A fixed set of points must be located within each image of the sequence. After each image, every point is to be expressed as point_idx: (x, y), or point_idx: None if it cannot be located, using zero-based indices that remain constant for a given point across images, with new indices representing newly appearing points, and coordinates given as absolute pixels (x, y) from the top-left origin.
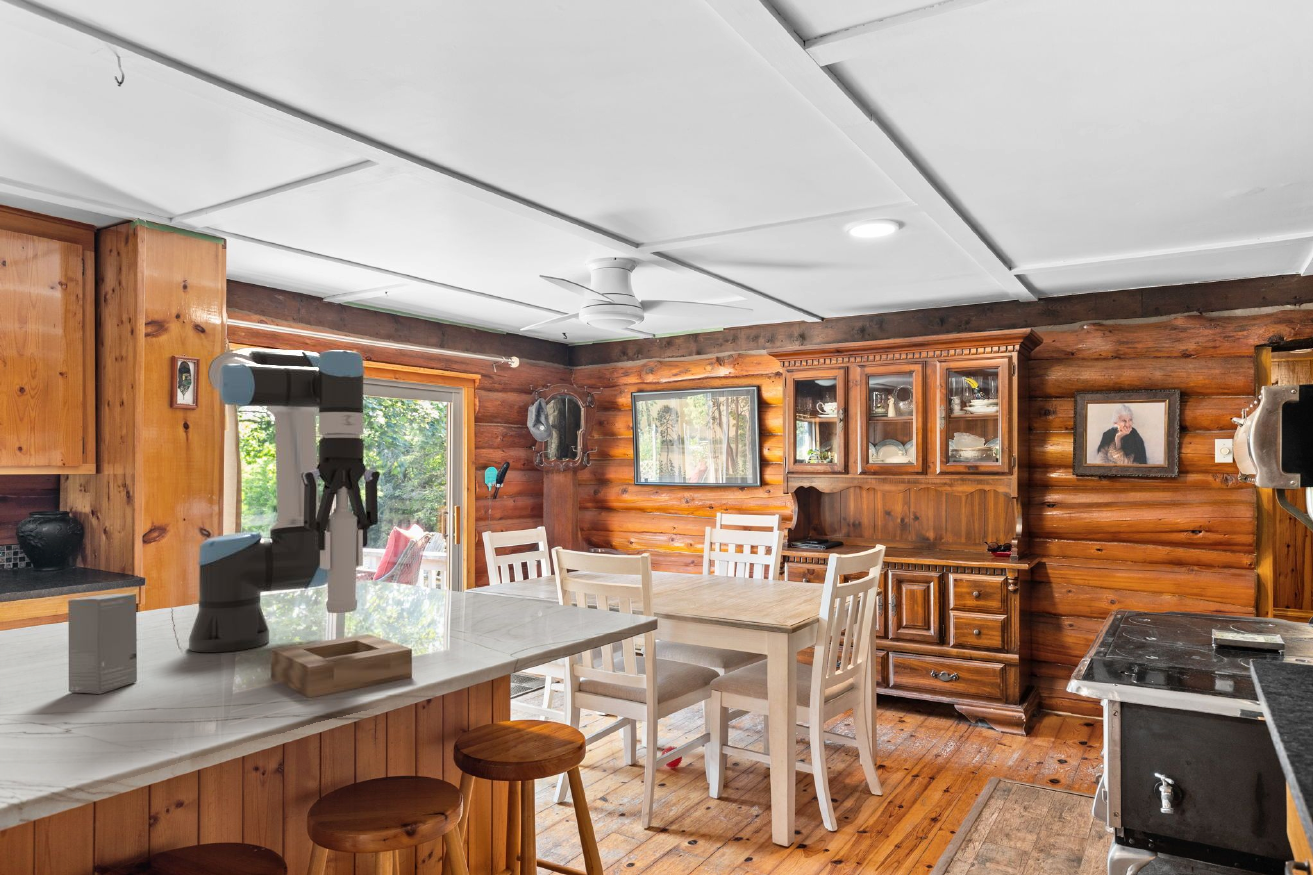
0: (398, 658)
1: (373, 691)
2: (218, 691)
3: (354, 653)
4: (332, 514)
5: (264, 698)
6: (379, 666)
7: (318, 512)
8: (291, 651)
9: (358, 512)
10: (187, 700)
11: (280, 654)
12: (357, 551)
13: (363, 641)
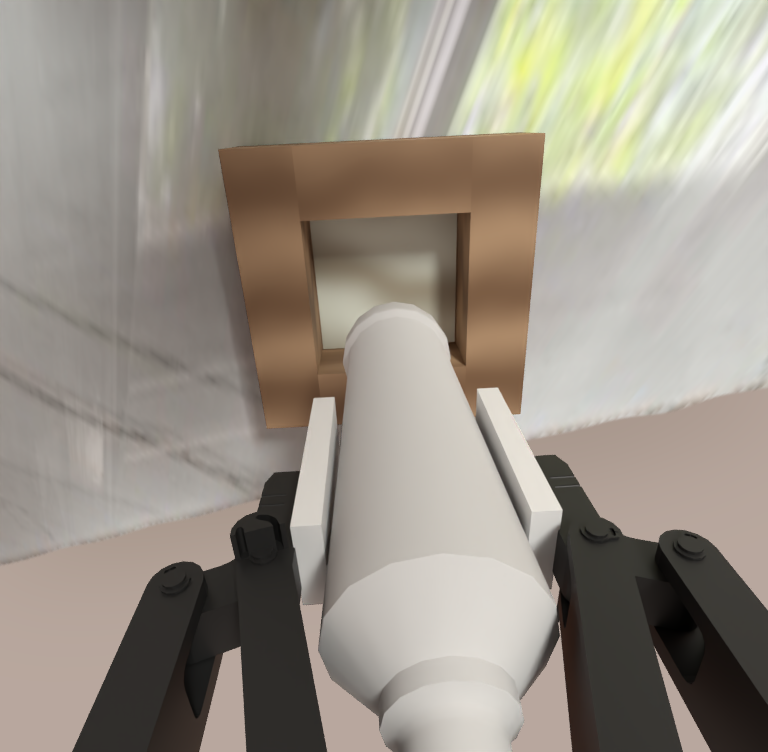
0: None
1: None
2: (103, 204)
3: None
4: (357, 690)
5: (197, 340)
6: None
7: (245, 676)
8: (266, 231)
9: (569, 709)
10: (35, 241)
11: (234, 236)
12: None
13: (477, 243)
